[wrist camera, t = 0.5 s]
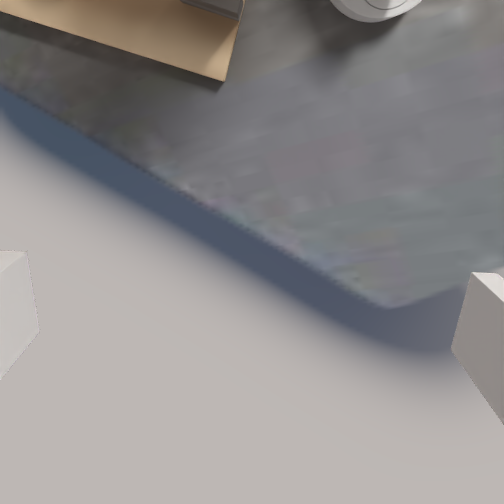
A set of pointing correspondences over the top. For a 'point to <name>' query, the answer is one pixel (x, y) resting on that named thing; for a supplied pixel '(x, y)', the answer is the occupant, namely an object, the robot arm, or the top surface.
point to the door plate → (147, 27)
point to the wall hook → (373, 8)
